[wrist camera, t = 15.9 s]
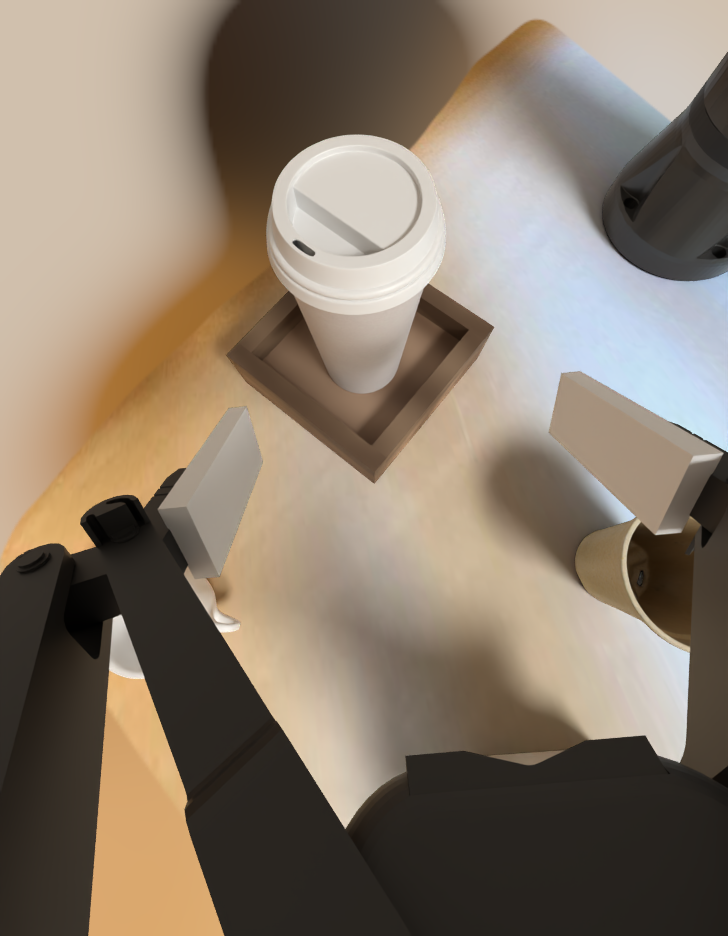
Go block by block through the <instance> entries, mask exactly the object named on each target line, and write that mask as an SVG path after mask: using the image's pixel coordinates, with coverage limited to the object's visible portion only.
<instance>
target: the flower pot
mask: <svg viewBox="0 0 728 936" xmlns="http://www.w3.org/2000/svg"><path fill="white" fill-rule="evenodd" d="M700 525H701V524H699V523H698V522H697V521H696V520H694V519H693V518H692V517H691V516H690V517H689V519H688V521H687V523H686V525H685V526H684V528H683V530H682V532H681V533H672V534H661V535H655V534H654V533H653V532H651V531H650V530H649V529H648V528H647V527H646V526H645V525H644V524H643V523H642V522H641V521H640V520H639V519H638V518H637V517H635V518H634V519H633V520H631V521H628V522H625V523H621V524H618V525H615V526H612V527H609V528H605V529H601V530H597V531H595V532H593V533H591V534H590V535H588V536H587V537H585V538H584V539H583V540H582V542H581V543H580V545H579V547H578V549H577V552H576V557H575V568H576V572H577V574H578V576H579V578H580V580H581V582H582V584H583V586H584V588H585V589H586V591H587V592H588V593H589V594H591V595H592V596H593V597H594V598H596V599H597V600H599V601H601V602H603V603H605V604H608V605H610V606H612V607H615V608H617V609H619V610H621V611H623V612H625V613H627V614H629V615H631V616H633V617H635V618H637V619H639V620H641V621H642V622H644V623H645V624H646V625H647V626H648V627H649V628H650V629H651V630H652V631H653V632H655V633H656V634H657V635H658V636H659V637H661V638H662V639H664V640H665V641H667V642H668V643H670V644H672V645H673V646H675V647H677V648H679V649H682V650H684V651H687V652H689V653H690V640H691V617H692V594H693V570H694V551H692V552H691V554H690V555H686V554H685V552H686V550H687V548H688V547H689V545H690V543H691V541H692V540H693V538H694V536H695V534H696V532H697V531H698V529H699V527H700ZM640 571H643V582H642V584H641V586H639V585H638V584H637V581H638V579H639V575H640Z"/></svg>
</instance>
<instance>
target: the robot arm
mask: <svg viewBox="0 0 728 936" xmlns="http://www.w3.org/2000/svg"><path fill="white" fill-rule="evenodd" d="M603 222H604V226H605V229H606V232H607V234H608V236H609V238H610V240H611V241H612V243H613V244H614V246H615V247H616V248H617V249H618V251H619V252H620V253H621V254H622V255H623V256H624V257H626V258H627V259H628V260H629V261H631V262H632V263H633V264H635V265H636V266H638V267H640V268H641V269H643V270H645V271H647V272H649V273H652V274H654V275H657V276H660V277H664V278H668V279H673V280H680V281H697V280H705V279H709V278H713V277H716V276H719V275H721V274H723V273H725V272H727V271H728V52H727V53H726V55H725V56H724V58H723V59H722V60H721V62H720V63H719V65H718V66H717V68H716V69H715V70H714V71H713V73H712V74H711V76H710V77H709V79H708V80H707V81H706V83H705V84H704V86H703V87H702V88H701V90H700V91H699V93H698V94H697V95H696V97H695V98H694V99H693V101H692V102H691V104H690V105H689V106H688V107H687V108H686V109H685V110H684V111H683V112H682V113H681V114H680V115H679V116H678V117H677V118H676V119H674V120H673V121H672V122H671V123H670V124H669V125H668V126H667V127H666V128H665V129H664V130H663V131H661V132H660V133H659V134H658V135H657V136H656V137H655V138H654V139H653V140H652V141H651V142H650V143H648V144H647V145H646V146H645V147H644V148H643V149H642V150H641V151H640V152H639V153H638V154H637V155H635V156H634V157H633V158H632V159H631V160H630V161H629V162H628V163H627V165H626V166H625V167H624V168H623V170H622V171H621V172H620V174H619V175H618V177H617V178H616V180H615V181H614V183H613V184H612V186H611V187H610V189H609V191H608V192H607V194H606V197H605V200H604V203H603ZM549 433H550V434H551V435H552V436H553V437H554V438H555V439H556V440H557V441H558V442H559V443H560V444H561V445H562V446H563V447H564V448H565V449H566V450H567V451H568V452H569V453H570V454H571V455H572V456H574V457H575V458H576V459H577V460H578V461H579V462H580V463H581V464H582V465H583V466H584V467H585V468H586V469H587V470H588V471H589V472H590V473H591V474H592V475H593V476H594V477H595V478H596V479H597V480H598V481H600V482H601V483H602V484H603V485H604V486H605V487H606V488H607V489H608V490H609V491H610V492H611V493H612V494H613V495H614V496H615V497H616V498H617V499H618V500H619V501H620V502H621V503H622V504H623V505H624V506H625V507H627V508H628V509H629V510H630V511H631V512H632V513H633V514H634V515H635V516H636V517H637V518H638V519H639V520H640V521H641V522H642V523H643V524H644V525H645V526H646V527H647V528H648V529H649V530H650V531H651V532H653V533H654V534H655V535H661V534H672V533H681V532H682V530H683V528H684V526H685V525H686V523H687V521H688V519H689V517H690V516H691V517H692V518H693V519H694V520H696V521H697V522H698V523H699V524H701V525H700V527H699V529H698V531H697V532H696V534H695V536H694V538H693V540H692V541H691V543H690V545H689V547H688V548H687V550H686V552H685V554H686V555H690V554H691V552H692V551H694V570H693V594H692V617H691V640H690V664H689V687H688V710H687V734H686V746H685V750H684V754H683V757H682V759H681V762H680V763H678V762H676V761H673V760H670V759H667V758H664V757H661V756H657V754H656V753H655V751H654V749H653V748H652V746H651V744H650V743H649V741H648V739H647V738H646V736H633V737H622V738H610V739H598V740H586V741H584V742H582V743H580V744H578V745H575V746H573V747H571V748H569V749H567V750H565V751H563V752H561V753H559V754H556V755H554V756H552V757H550V758H548V759H546V760H544V761H542V762H540V763H537V764H535V765H524V764H520V763H515V762H511V761H506V760H502V759H497V758H493V757H488V756H484V755H479V754H475V753H470V752H466V751H457V752H446V753H434V754H422V755H411V756H406V769H407V772H405V773H403V774H401V775H399V776H397V777H394V778H393V779H391V780H390V781H388V782H387V783H385V784H384V785H382V786H381V787H380V788H378V789H377V790H376V791H375V792H374V793H373V794H372V795H371V796H370V797H369V798H368V799H367V800H366V801H365V802H364V803H363V805H362V806H361V807H360V808H359V809H358V811H357V812H356V814H355V815H354V817H353V818H352V820H351V821H350V823H349V824H348V826H347V827H346V829H345V828H344V827H343V825H342V823H341V822H340V820H339V819H338V817H337V815H336V814H335V812H334V811H333V809H332V807H331V806H330V804H329V803H328V801H327V800H326V798H325V796H324V795H323V793H322V792H321V790H320V788H319V787H318V785H317V784H316V782H315V780H314V779H313V777H312V776H311V774H310V772H309V771H308V769H307V768H306V766H305V764H304V763H303V761H302V760H301V758H300V757H299V755H298V753H297V752H296V750H295V749H294V747H293V745H292V744H291V742H290V741H289V739H288V738H287V736H286V734H285V733H284V731H283V730H282V728H281V727H280V725H279V724H278V722H276V721H275V719H274V718H273V716H272V715H271V713H270V712H269V710H268V709H267V707H266V705H265V704H264V702H263V701H262V699H261V697H260V696H259V694H258V692H257V691H256V689H255V688H254V686H253V684H252V683H251V681H250V680H249V678H248V676H247V675H246V673H245V672H244V670H243V668H242V667H241V665H240V664H239V662H238V660H237V659H236V657H235V656H234V654H233V652H232V651H231V649H230V648H229V646H228V644H227V643H226V641H225V640H224V638H223V636H222V635H221V633H220V632H219V630H218V628H217V627H216V625H215V624H214V622H213V620H212V619H211V617H210V616H209V614H208V612H207V611H206V609H205V608H204V606H203V604H202V603H201V601H200V600H199V598H198V596H197V595H196V593H195V592H194V590H193V588H192V587H191V585H190V584H189V582H188V580H187V579H186V577H185V576H184V573H185V570H186V568H187V566H188V568H189V569H190V571H191V573H192V575H193V577H194V579H201V578H212V577H220V574H221V571H222V569H223V566H224V564H225V561H226V558H227V556H228V553H229V550H230V548H231V545H232V542H233V540H234V537H235V535H236V532H237V529H238V527H239V524H240V521H241V519H242V516H243V513H244V511H245V508H246V506H247V503H248V500H249V498H250V495H251V492H252V490H253V487H254V485H255V482H256V479H257V477H258V474H259V471H260V469H261V466H262V463H263V459H262V456H261V453H260V449H259V446H258V443H257V439H256V436H255V432H254V429H253V426H252V422H251V419H250V415H249V412H248V409H247V406H244V407H235V408H228V410H227V411H226V413H225V414H224V416H223V417H222V418H221V420H220V421H219V423H218V424H217V425H216V427H215V428H214V430H213V431H212V433H211V434H210V435H209V437H208V438H207V440H206V441H205V443H204V444H203V445H202V447H201V448H200V450H199V451H198V452H197V454H196V455H195V457H194V458H193V460H192V461H191V462H190V464H189V465H188V467H187V468H181V469H178V470H177V471H175V472H174V473H173V474H171V475H170V476H169V477H167V478H166V480H165V481H164V482H163V484H162V485H161V486H160V489H158V490H157V492H156V493H155V494H154V497H152V498H151V500H150V501H149V502H148V504H147V505H146V506H145V507H144V508H143V507H142V505H141V503H140V501H139V500H138V498H136V497H135V496H133V495H122V496H116V497H113V498H110V499H107V500H104V501H102V502H100V503H99V504H97V505H95V506H93V507H92V508H91V509H89V510H88V511H87V512H86V513H85V514H84V515H83V516H82V518H81V522H80V524H81V526H82V527H83V528H84V530H85V531H86V533H87V534H88V536H89V537H90V538H91V540H92V541H93V543H94V544H95V545H96V547H94V548H91V549H88V550H84V551H81V552H78V553H74V554H71V555H70V554H69V552H68V551H67V550H66V548H65V547H64V546H62V545H61V544H47V545H43V546H39V547H37V548H34V549H31V550H28V551H26V552H24V554H21V555H20V556H18V557H17V558H16V559H15V560H13V561H12V562H11V563H10V564H9V565H8V566H7V567H6V568H5V569H4V571H3V572H2V573H1V575H0V936H88V932H89V918H90V906H91V893H92V880H93V868H94V855H95V842H96V829H97V816H98V804H99V791H100V777H101V764H102V753H103V752H102V751H103V740H104V727H105V714H106V701H107V689H108V676H109V663H110V650H111V637H112V625H113V618H114V617H117V616H119V615H122V617H123V620H124V623H125V626H126V628H127V631H128V634H129V637H130V639H131V642H132V645H133V647H134V650H135V653H136V656H137V658H138V661H139V664H140V667H141V669H142V672H143V675H144V678H145V680H146V683H147V686H148V689H149V691H150V694H151V697H152V700H153V702H154V705H155V708H156V711H157V713H158V716H159V719H160V722H161V724H162V727H163V730H164V733H165V735H166V738H167V741H168V744H169V746H170V749H171V752H172V755H173V757H174V760H175V763H176V766H177V768H178V771H179V774H180V777H181V779H182V782H183V785H184V788H185V791H186V794H187V800H188V802H187V804H186V807H185V817H186V822H187V826H188V829H189V833H190V836H191V839H192V842H193V845H194V848H195V851H196V854H197V857H198V860H199V863H200V866H201V869H202V872H203V875H204V878H205V880H206V883H207V886H208V889H209V892H210V895H211V898H212V901H213V904H214V907H215V910H216V913H217V915H218V918H219V921H220V924H221V927H222V930H223V933H224V936H728V452H726V451H724V450H723V449H721V448H719V447H717V446H715V445H714V444H712V443H710V442H708V441H707V440H703V438H701V437H699V436H698V435H696V434H692V432H691V431H689V430H687V429H685V428H683V427H682V426H680V425H678V424H675V423H672V422H669V421H667V420H665V419H663V418H661V417H660V416H658V415H656V414H654V413H653V412H651V411H649V410H647V409H646V408H644V407H642V406H640V405H638V404H637V403H635V402H633V401H631V400H630V399H628V398H626V397H624V396H623V395H621V394H619V393H617V392H616V391H614V390H612V389H610V388H609V387H607V386H605V385H603V384H602V383H600V382H598V381H596V380H594V379H593V378H591V377H589V376H587V375H586V374H584V373H582V372H580V371H578V372H569V373H561V377H560V382H559V387H558V392H557V396H556V401H555V406H554V410H553V415H552V420H551V424H550V429H549Z"/></svg>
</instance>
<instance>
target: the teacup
mask: <svg viewBox="0 0 728 936" xmlns="http://www.w3.org/2000/svg"><path fill="white" fill-rule="evenodd" d="M184 576H185V577H186V579H187V580H188V582H189V584H190V585H191V587H192V588H193V590H194V592H195V593H196V595H197V596H198V598H199V600H200V601H201V603H202V604H203V606H204V608H205V609H206V611H207V612H208V614H209V616H210V617H211V619H212V620H213V622H214V624H215V625H216V627H217V628H218V630H219V632H233V631H236V630H238V629H239V628H240V621H239V620H237V619H235V618H232V617H230V616H228V615H225V614H224V613H222V612H221V611H219V609H218V608H217V604H216V597H215V593H214V591H213V588H212V586H211V585H210V583H209V582H208V580H207V579H206V578H201V579H194V577H193V575H192V573H191V571H190V569H189V568H188V567H187V568H186V570H185V573H184ZM109 670H110V671H112V672H113V673H115V674H117V675H120V676H123V677H126V678H132V679H143V678H144V675H143V672H142V669H141V667H140V664H139V661H138V658H137V656H136V653H135V650H134V647H133V645H132V642H131V639H130V637H129V634H128V631H127V628H126V626H125V623H124V620H123V617H122V615H119V616H117V617H114V618H113V625H112V637H111V650H110V663H109Z"/></svg>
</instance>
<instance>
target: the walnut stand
mask: <svg viewBox="0 0 728 936" xmlns="http://www.w3.org/2000/svg"><path fill="white" fill-rule="evenodd" d="M493 328H494V327H493V326H492V325H490V324H489V323H487V322H486V321H484V320H483V319H481V318H480V317H478V316H477V315H475V314H474V313H472V312H471V311H469V310H468V309H466V308H465V307H463V306H462V305H460V304H459V303H457V302H455V301H454V300H452V299H451V298H449V297H448V296H446V295H445V294H443V293H442V292H440V291H439V290H437V289H436V288H434V287H433V286H431V285H430V284H427V285H426V286H425V287H424V289H423V292H422V295H421V298H420V301H419V304H418V307H417V310H416V313H415V316H414V319H413V322H412V325H411V329H410V332H409V335H408V338H407V341H406V344H405V347H404V350H403V353H402V357H401V360H400V363H399V366H398V369H397V372H396V374H395V376H394V377H393V379H392V380H391V381H390V382H389V383H388V384H387V385H386V386H385V387H383V388H381V389H380V390H377V391H375V392H371V393H365V394H359V393H353V392H349V391H347V390H344V389H343V388H341V387H339V386H338V385H337V384H336V383H335V382H334V381H333V380H332V378H331V377H330V375H329V373H328V371H327V369H326V366H325V364H324V362H323V359H322V357H321V355H320V353H319V350H318V348H317V346H316V344H315V341H314V339H313V337H312V334H311V332H310V330H309V328H308V325H307V323H306V321H305V319H304V316H303V314H302V312H301V310H300V307H299V305H298V303H297V301H296V299H295V296H294V295H293V294H292V293H291V292H290V291H288V292H287V293H286V294H285V295H284V296H283V297H282V298H281V299H280V301H279V302H278V303H277V304H276V305H275V306H274V307H273V308H272V309H271V310H270V311H269V312H268V313H267V314H266V315H265V316H264V317H263V318H262V319H261V320H260V321H259V322H258V323H257V324H256V325H255V326H254V327H253V328H252V329H251V330H250V331H249V332H248V333H247V334H246V335H245V336H244V337H243V338H242V339H241V340H240V341H239V342H238V343H237V345H236V346H235V347H234V348H233V349H232V350H231V351H230V352H229V353H228V354H227V355H226V356H227V357H228V358H229V360H230V361H231V362H232V364H233V365H234V366H235V367H236V369H237V370H238V371H239V373H240V374H241V375H242V377H243V378H244V379H245V381H246V382H247V383H248V384H250V385H251V386H252V387H253V388H255V389H256V390H257V391H258V392H260V393H261V394H262V395H263V396H265V397H266V398H267V399H268V400H270V401H271V402H272V403H273V404H275V405H276V406H277V407H278V408H280V409H281V410H282V411H283V412H285V413H286V414H287V415H288V416H290V417H291V418H292V419H294V420H295V421H296V422H297V423H299V424H300V425H301V426H302V427H304V428H305V429H306V430H307V431H309V432H310V433H311V434H312V435H314V436H315V437H316V438H317V439H319V440H320V441H321V442H322V443H324V444H325V445H326V446H327V447H329V448H330V449H331V450H332V451H334V452H335V453H336V454H338V455H339V456H340V457H341V458H343V459H344V460H345V461H346V462H348V463H349V464H350V465H351V466H353V467H354V468H355V469H356V470H358V471H359V472H360V473H361V474H363V475H364V476H365V477H366V478H368V479H369V480H370V481H371V482H373V483H374V484H375V482H376V481H377V480H378V479H379V477H380V476H381V475H382V474H383V473H384V471H385V470H386V469H387V468H388V466H389V465H390V464H391V463H392V462H393V460H394V459H395V458H396V457H397V455H398V454H399V453H400V452H401V451H402V449H403V448H404V447H405V446H406V444H407V443H408V442H409V441H410V440H411V438H412V437H413V436H414V435H415V433H416V432H417V431H418V430H419V429H420V427H421V426H422V425H423V424H424V423H425V421H426V420H427V419H428V418H429V416H430V415H431V414H432V413H433V412H434V410H435V409H436V408H437V407H438V405H439V404H440V403H441V402H442V401H443V399H444V398H445V397H446V396H447V394H448V393H449V392H450V391H451V390H452V388H453V387H454V386H455V385H456V383H457V382H458V381H459V380H460V379H461V377H462V376H463V375H464V374H465V372H466V371H467V370H468V369H469V368H470V366H471V365H472V364H473V363H474V361H475V360H476V359H477V358H478V356H479V354H480V352H481V350H482V348H483V347H484V345H485V343H486V341H487V339H488V338H489V336H490V334H491V332H492V330H493Z"/></svg>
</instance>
